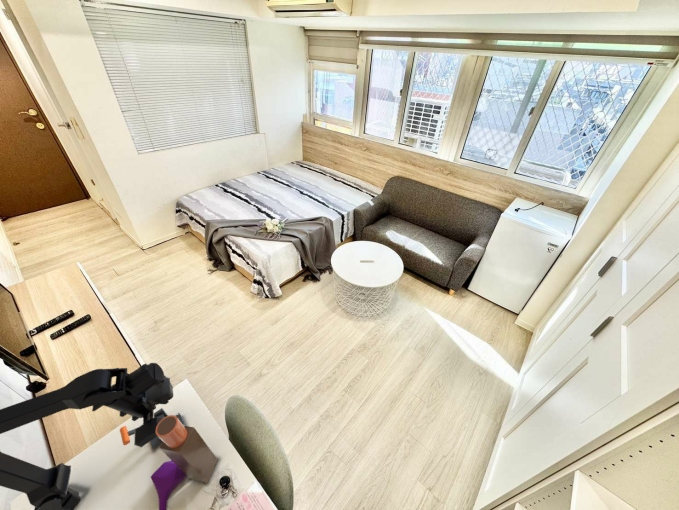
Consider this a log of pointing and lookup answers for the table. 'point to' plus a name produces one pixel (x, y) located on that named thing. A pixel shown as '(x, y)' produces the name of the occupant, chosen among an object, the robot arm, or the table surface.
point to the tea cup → (171, 431)
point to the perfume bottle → (166, 481)
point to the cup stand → (193, 456)
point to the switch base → (157, 440)
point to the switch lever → (131, 432)
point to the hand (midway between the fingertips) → (168, 416)
